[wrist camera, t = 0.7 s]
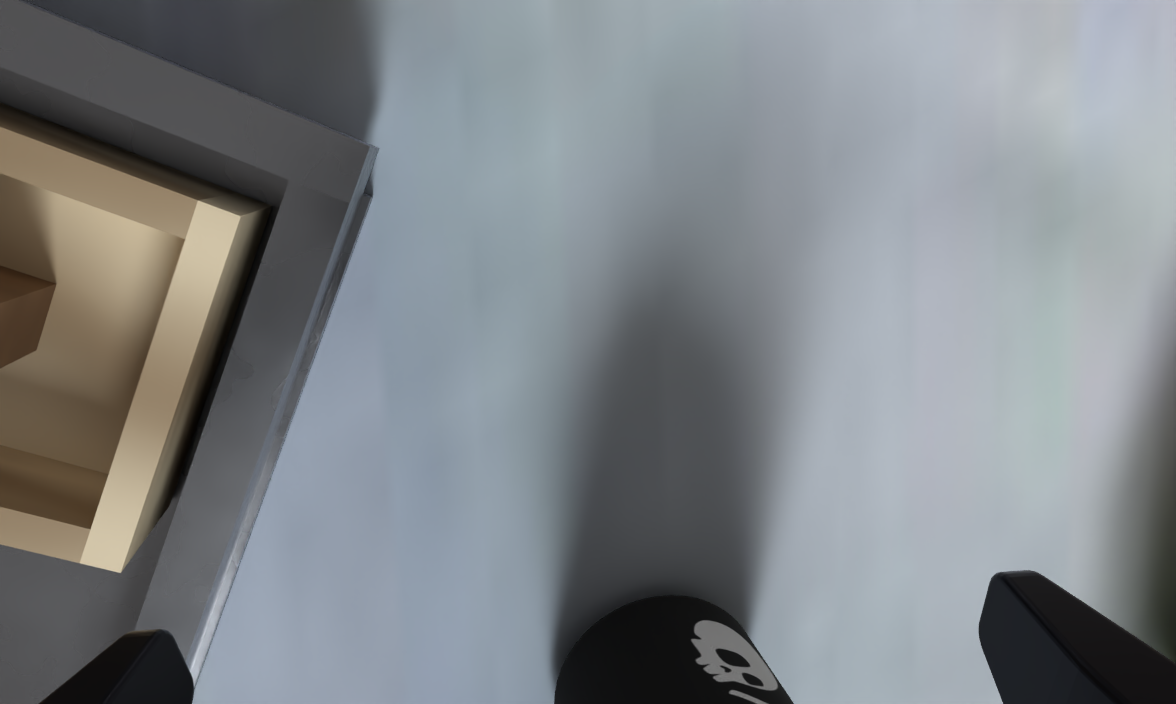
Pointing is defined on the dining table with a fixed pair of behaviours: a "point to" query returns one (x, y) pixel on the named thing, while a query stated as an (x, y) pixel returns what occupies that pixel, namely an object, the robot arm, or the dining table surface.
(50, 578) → the bay
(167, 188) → the box
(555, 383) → the dining table surface
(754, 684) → the beverage can
